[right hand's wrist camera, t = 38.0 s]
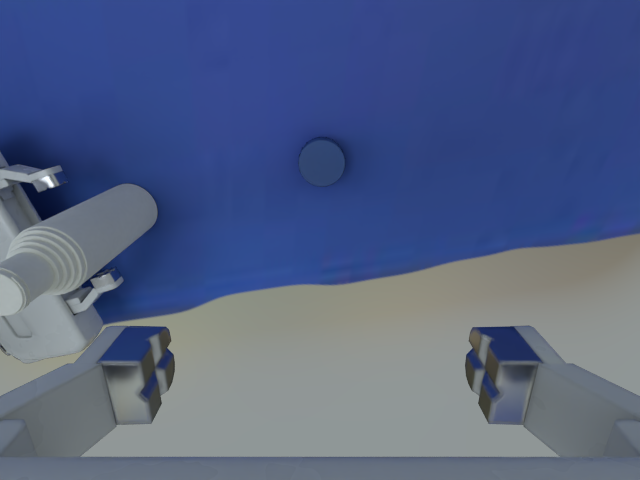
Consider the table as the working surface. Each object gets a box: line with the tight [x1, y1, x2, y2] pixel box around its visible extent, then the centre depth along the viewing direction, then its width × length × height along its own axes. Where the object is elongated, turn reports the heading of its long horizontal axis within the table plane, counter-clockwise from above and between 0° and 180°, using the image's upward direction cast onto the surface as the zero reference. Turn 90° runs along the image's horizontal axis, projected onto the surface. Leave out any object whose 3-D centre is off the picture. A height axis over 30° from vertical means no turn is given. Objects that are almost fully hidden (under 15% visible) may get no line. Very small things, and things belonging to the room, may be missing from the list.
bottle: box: [0, 184, 158, 316], centre depth 30 cm, size 5×5×17 cm
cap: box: [298, 137, 345, 187], centre depth 35 cm, size 4×4×2 cm
